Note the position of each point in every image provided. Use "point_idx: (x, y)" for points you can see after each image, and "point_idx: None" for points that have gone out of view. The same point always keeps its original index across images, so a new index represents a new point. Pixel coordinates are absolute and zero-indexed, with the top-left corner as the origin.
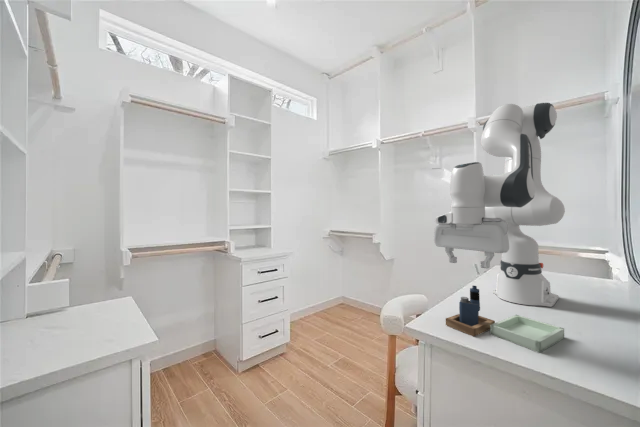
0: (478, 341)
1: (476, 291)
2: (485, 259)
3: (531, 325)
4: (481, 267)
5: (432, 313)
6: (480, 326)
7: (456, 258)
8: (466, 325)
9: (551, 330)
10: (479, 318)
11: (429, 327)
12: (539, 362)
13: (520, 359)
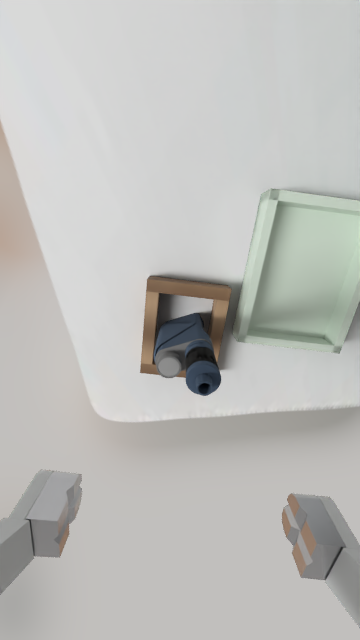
0: (226, 383)
1: (215, 388)
2: (353, 614)
3: (306, 208)
4: (283, 516)
5: (74, 320)
6: (218, 355)
7: (64, 511)
8: None
9: (355, 214)
10: (193, 296)
11: (128, 398)
12: (326, 379)
13: (299, 392)
